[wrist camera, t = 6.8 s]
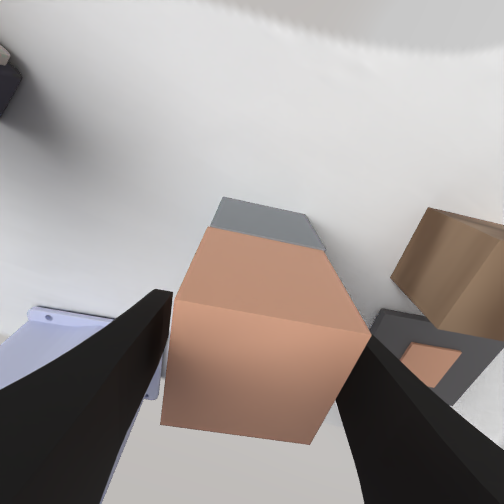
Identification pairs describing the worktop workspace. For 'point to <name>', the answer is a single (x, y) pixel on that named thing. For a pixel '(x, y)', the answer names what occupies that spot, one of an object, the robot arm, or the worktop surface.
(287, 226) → the slate block
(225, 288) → the terracotta block
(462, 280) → the walnut block
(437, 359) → the board
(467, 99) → the worktop surface
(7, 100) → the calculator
